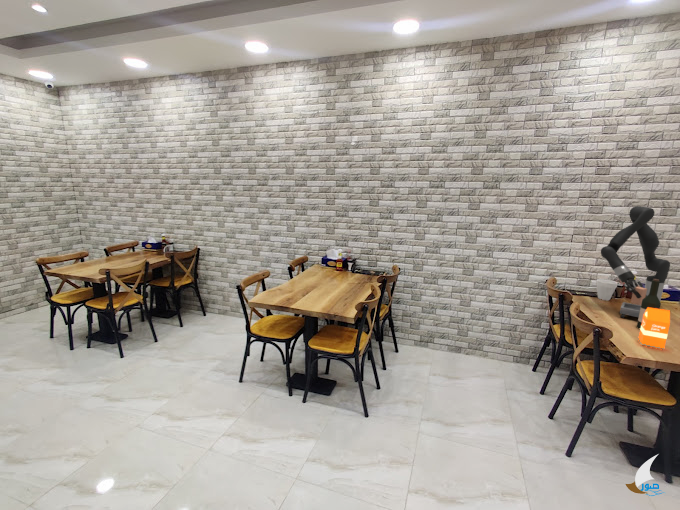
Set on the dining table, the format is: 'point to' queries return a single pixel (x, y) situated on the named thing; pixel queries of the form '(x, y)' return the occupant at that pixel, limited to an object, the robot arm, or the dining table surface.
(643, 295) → the terracotta block
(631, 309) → the grey square tray
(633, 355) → the dining table surface
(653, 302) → the wine bottle
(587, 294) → the dining table surface
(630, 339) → the dining table surface
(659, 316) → the orange juice
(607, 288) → the cup
